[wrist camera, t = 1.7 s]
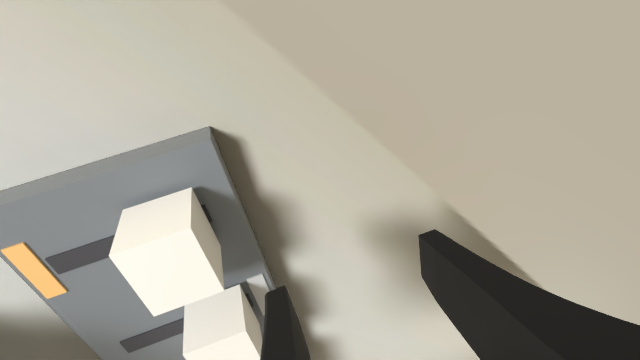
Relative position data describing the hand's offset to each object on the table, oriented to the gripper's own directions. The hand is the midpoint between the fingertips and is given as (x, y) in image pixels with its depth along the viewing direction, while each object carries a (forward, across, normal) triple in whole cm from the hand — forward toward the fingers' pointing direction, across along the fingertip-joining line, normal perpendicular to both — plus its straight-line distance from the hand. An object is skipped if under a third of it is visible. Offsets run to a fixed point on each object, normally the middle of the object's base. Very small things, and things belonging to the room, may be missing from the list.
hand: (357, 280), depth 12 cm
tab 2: (+6, +7, +6) cm, 11 cm away
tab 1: (+7, +7, 0) cm, 9 cm away
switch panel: (+8, +8, +6) cm, 14 cm away
